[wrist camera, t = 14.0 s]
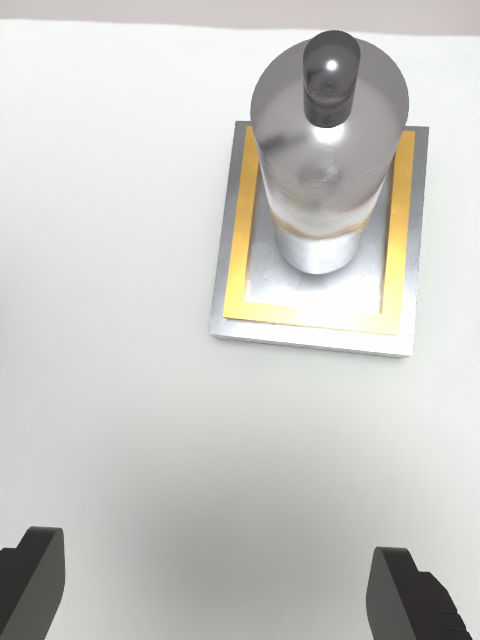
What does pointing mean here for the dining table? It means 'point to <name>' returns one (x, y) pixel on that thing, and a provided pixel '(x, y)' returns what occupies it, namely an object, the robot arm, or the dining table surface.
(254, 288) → the grey square tray
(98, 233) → the dining table surface
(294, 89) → the spout can
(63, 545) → the robot arm
